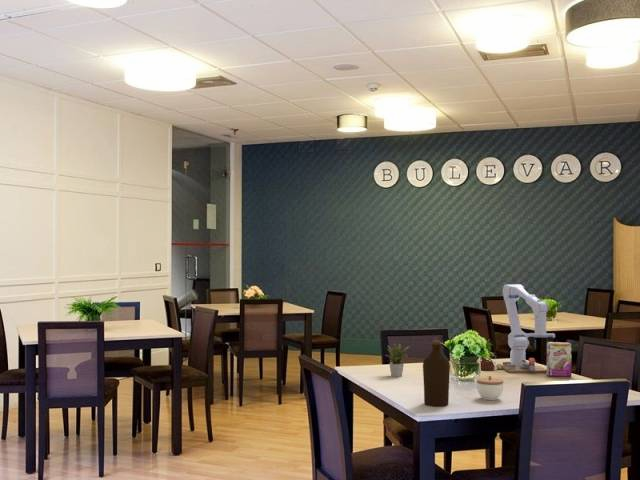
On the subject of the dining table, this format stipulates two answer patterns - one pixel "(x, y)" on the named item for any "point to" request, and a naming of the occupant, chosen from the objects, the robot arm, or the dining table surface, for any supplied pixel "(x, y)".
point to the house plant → (396, 361)
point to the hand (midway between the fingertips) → (540, 351)
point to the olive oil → (436, 377)
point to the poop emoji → (487, 365)
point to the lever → (528, 364)
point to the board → (516, 369)
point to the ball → (499, 366)
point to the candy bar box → (559, 359)
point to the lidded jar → (489, 388)
